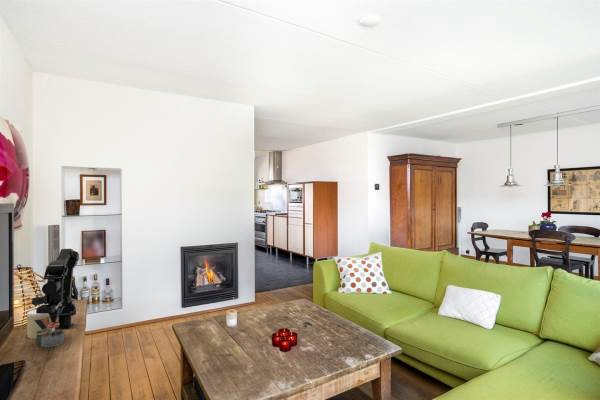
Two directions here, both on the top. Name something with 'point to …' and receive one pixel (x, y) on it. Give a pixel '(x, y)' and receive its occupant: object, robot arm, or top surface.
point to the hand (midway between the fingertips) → (53, 322)
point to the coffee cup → (37, 323)
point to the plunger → (53, 326)
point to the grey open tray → (51, 339)
